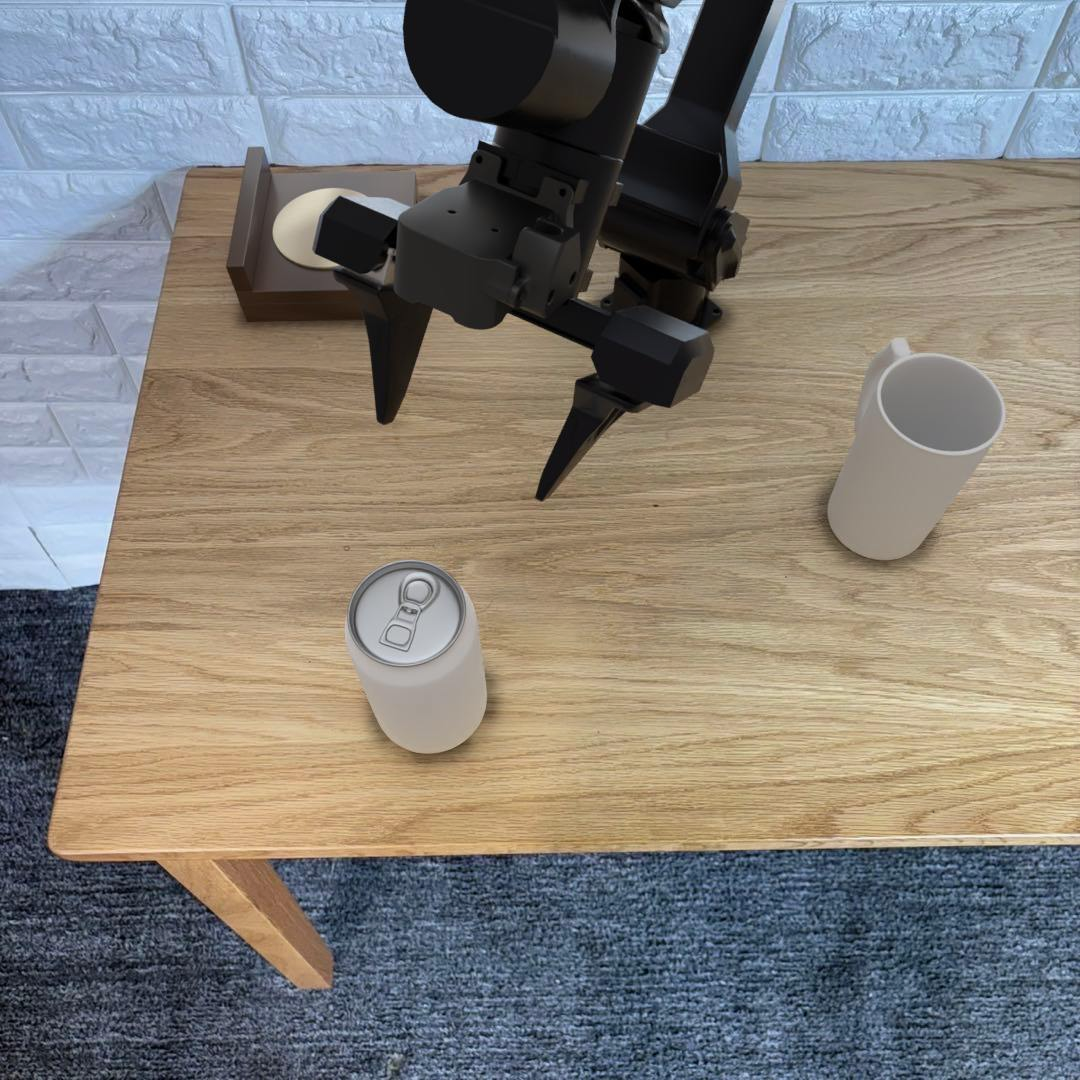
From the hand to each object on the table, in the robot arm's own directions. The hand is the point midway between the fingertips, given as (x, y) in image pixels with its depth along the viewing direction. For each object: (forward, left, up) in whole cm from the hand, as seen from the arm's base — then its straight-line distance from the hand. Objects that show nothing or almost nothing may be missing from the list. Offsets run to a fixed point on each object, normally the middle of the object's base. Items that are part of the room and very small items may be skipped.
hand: (461, 460), depth 50 cm
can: (+7, +5, -13) cm, 16 cm away
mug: (-23, +11, -13) cm, 29 cm away
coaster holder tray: (-8, -28, -13) cm, 32 cm away
